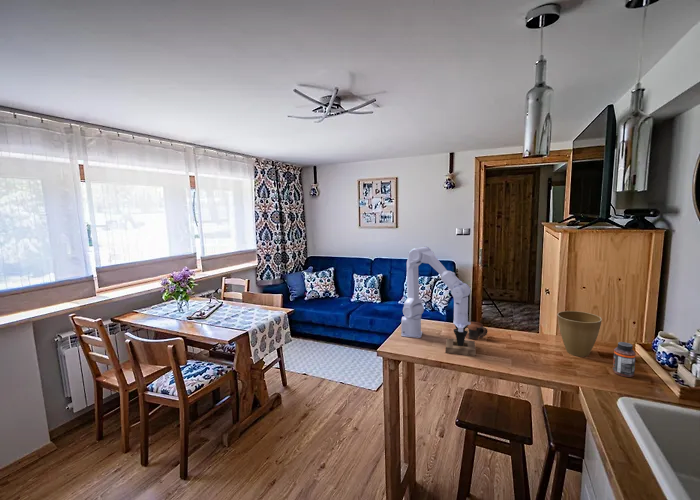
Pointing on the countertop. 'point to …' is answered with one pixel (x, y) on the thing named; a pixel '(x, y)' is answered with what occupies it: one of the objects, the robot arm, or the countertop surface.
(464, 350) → the slot block
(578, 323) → the plant pot
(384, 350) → the countertop surface
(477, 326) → the pottery mug
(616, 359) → the supplement bottle
